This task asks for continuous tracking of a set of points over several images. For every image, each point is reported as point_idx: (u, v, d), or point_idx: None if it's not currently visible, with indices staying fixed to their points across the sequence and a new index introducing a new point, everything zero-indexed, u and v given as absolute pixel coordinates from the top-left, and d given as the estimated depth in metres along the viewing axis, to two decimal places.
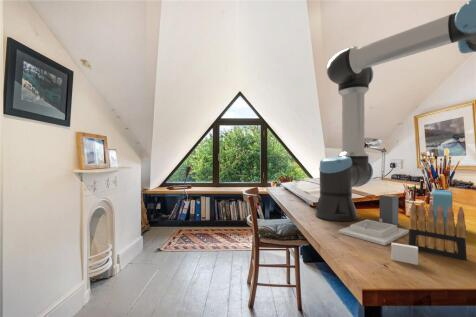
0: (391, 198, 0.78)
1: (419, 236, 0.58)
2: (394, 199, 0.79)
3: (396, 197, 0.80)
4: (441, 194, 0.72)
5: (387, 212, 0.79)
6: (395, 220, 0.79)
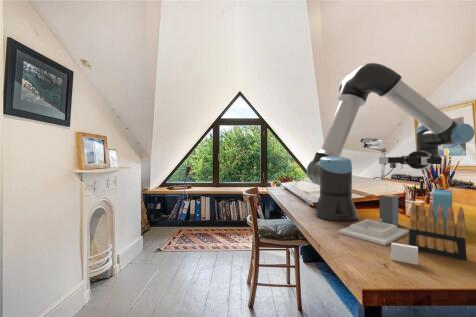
0: (391, 198, 0.78)
1: (419, 236, 0.58)
2: (394, 199, 0.79)
3: (396, 197, 0.80)
4: (441, 194, 0.72)
5: (387, 212, 0.79)
6: (395, 220, 0.79)
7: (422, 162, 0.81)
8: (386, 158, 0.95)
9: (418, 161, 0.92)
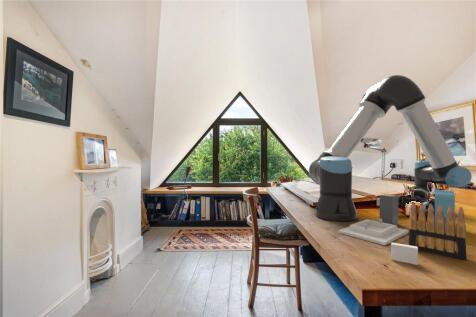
0: (391, 198, 0.78)
1: (419, 236, 0.58)
2: (394, 199, 0.79)
3: (396, 197, 0.80)
4: (443, 195, 0.71)
5: (387, 212, 0.79)
6: (395, 220, 0.79)
7: None
8: None
9: None
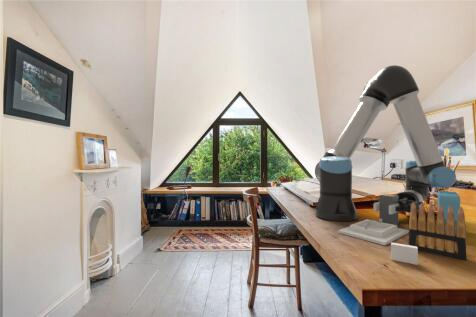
0: (391, 198, 0.78)
1: (419, 236, 0.58)
2: (394, 199, 0.79)
3: (396, 197, 0.80)
4: (448, 196, 0.68)
5: (387, 212, 0.79)
6: (395, 220, 0.79)
7: (389, 211, 0.76)
8: None
9: None
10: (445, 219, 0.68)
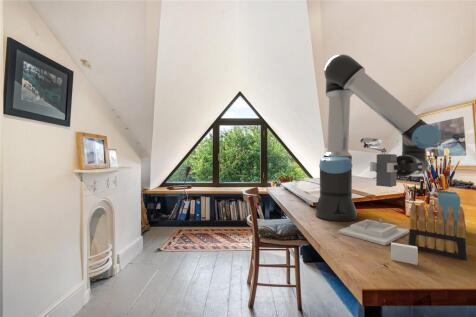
0: (389, 156, 0.72)
1: (419, 236, 0.58)
2: (392, 157, 0.72)
3: (394, 156, 0.73)
4: (448, 196, 0.68)
5: (385, 171, 0.73)
6: (393, 180, 0.73)
7: (388, 169, 0.69)
8: None
9: None
10: (445, 219, 0.68)
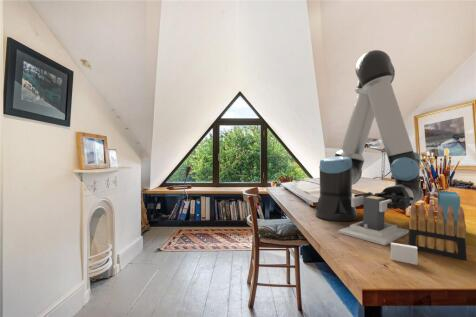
0: (376, 201, 0.69)
1: (419, 236, 0.58)
2: None
3: (382, 200, 0.70)
4: (448, 196, 0.68)
5: (371, 216, 0.70)
6: (380, 225, 0.70)
7: (380, 208, 0.66)
8: (361, 198, 0.75)
9: None
10: (445, 219, 0.68)
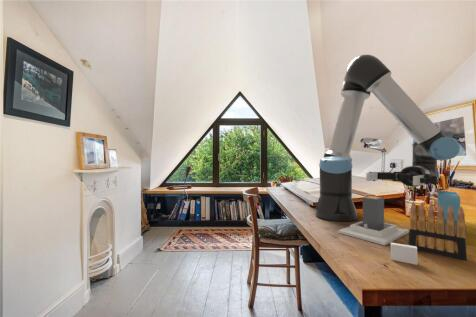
0: (375, 201, 0.69)
1: (419, 236, 0.58)
2: (378, 202, 0.70)
3: (381, 200, 0.71)
4: (448, 196, 0.68)
5: (371, 216, 0.70)
6: (380, 225, 0.70)
7: (414, 182, 0.70)
8: (375, 174, 0.83)
9: (411, 179, 0.80)
10: (445, 219, 0.68)
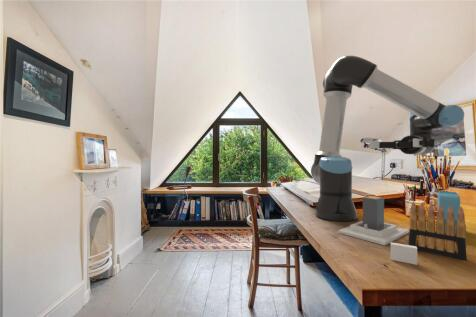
0: (375, 201, 0.69)
1: (419, 236, 0.58)
2: (378, 202, 0.70)
3: (381, 200, 0.71)
4: (448, 196, 0.68)
5: (371, 216, 0.70)
6: (380, 225, 0.70)
7: (414, 144, 0.76)
8: (377, 142, 0.90)
9: (410, 145, 0.87)
10: (445, 219, 0.68)
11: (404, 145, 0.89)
